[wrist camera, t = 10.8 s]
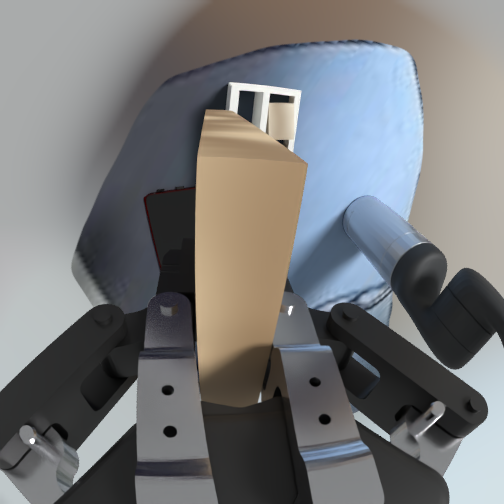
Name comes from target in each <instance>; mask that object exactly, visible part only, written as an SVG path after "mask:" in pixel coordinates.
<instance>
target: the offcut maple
mask: <svg viewBox="0 0 504 504" xmlns="http://www.w3.org/2000/svg"><path fill="white" fill-rule="evenodd" d="M266 134H268V135H269V136H271V137H272V138H273V139H275V140H294V104H292V103H269V107H268V116H267V124H266Z"/></svg>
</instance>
